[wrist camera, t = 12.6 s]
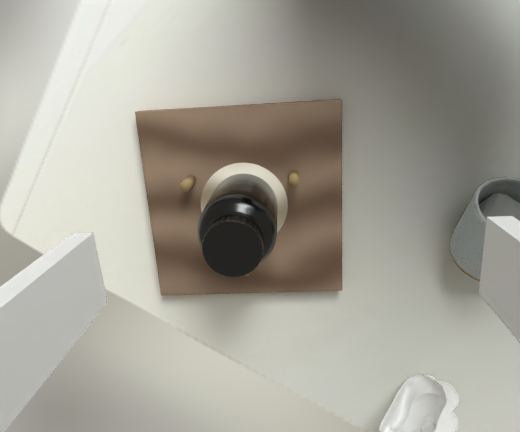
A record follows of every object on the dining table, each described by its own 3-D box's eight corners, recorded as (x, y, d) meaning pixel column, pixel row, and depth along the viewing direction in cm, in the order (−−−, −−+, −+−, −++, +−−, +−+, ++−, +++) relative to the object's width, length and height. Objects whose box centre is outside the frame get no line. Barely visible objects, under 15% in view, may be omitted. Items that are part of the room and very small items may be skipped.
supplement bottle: (201, 218, 44) (172, 265, 33) (229, 160, 42) (209, 189, 31) (260, 246, 45) (251, 303, 34) (290, 191, 43) (292, 231, 32)
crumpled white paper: (386, 424, 53) (408, 496, 44) (365, 401, 52) (383, 470, 43) (456, 383, 51) (494, 450, 42) (435, 358, 50) (469, 421, 41)
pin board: (140, 110, 43) (124, 114, 39) (339, 99, 42) (346, 101, 37) (164, 289, 49) (153, 309, 45) (340, 284, 48) (345, 304, 43)
